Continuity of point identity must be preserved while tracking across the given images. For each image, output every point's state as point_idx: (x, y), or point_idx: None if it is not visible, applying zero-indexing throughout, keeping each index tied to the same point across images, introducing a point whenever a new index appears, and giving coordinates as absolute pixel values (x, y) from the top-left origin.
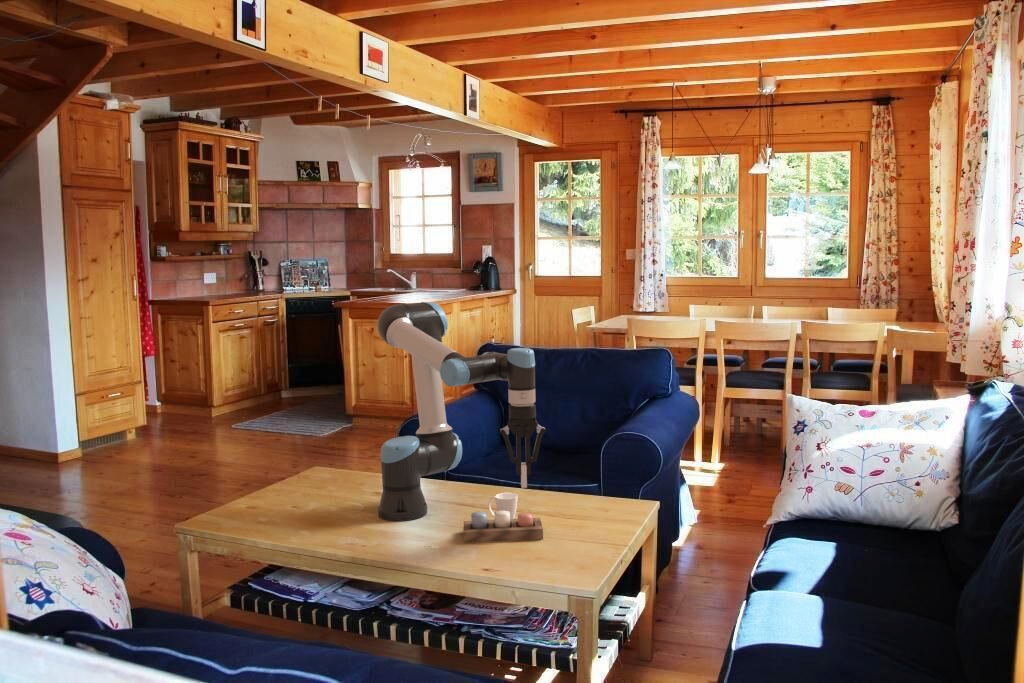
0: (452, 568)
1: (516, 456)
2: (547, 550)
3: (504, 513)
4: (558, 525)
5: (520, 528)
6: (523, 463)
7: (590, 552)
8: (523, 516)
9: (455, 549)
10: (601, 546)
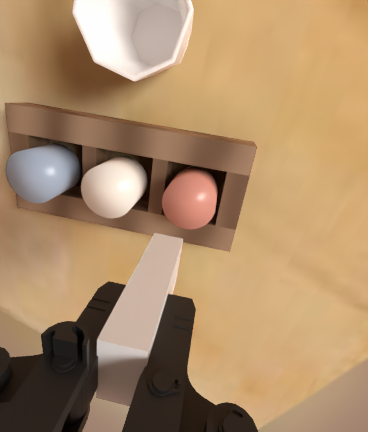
0: (30, 316)
1: (8, 417)
2: (216, 301)
3: (114, 202)
4: (320, 134)
5: (169, 228)
6: (121, 367)
7: (301, 340)
8: (178, 219)
9: (23, 231)
10: (345, 322)
